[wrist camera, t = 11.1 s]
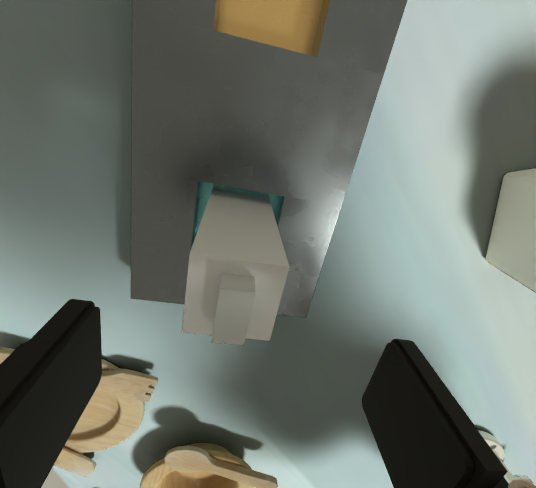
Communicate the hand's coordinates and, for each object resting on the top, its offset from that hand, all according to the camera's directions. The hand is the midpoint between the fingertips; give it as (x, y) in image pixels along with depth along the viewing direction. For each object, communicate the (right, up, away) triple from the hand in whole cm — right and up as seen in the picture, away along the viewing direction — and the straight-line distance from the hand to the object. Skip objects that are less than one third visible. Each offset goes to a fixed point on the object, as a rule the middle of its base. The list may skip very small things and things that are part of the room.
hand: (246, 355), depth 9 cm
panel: (0, +11, +8) cm, 13 cm away
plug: (-1, +5, +10) cm, 11 cm away
